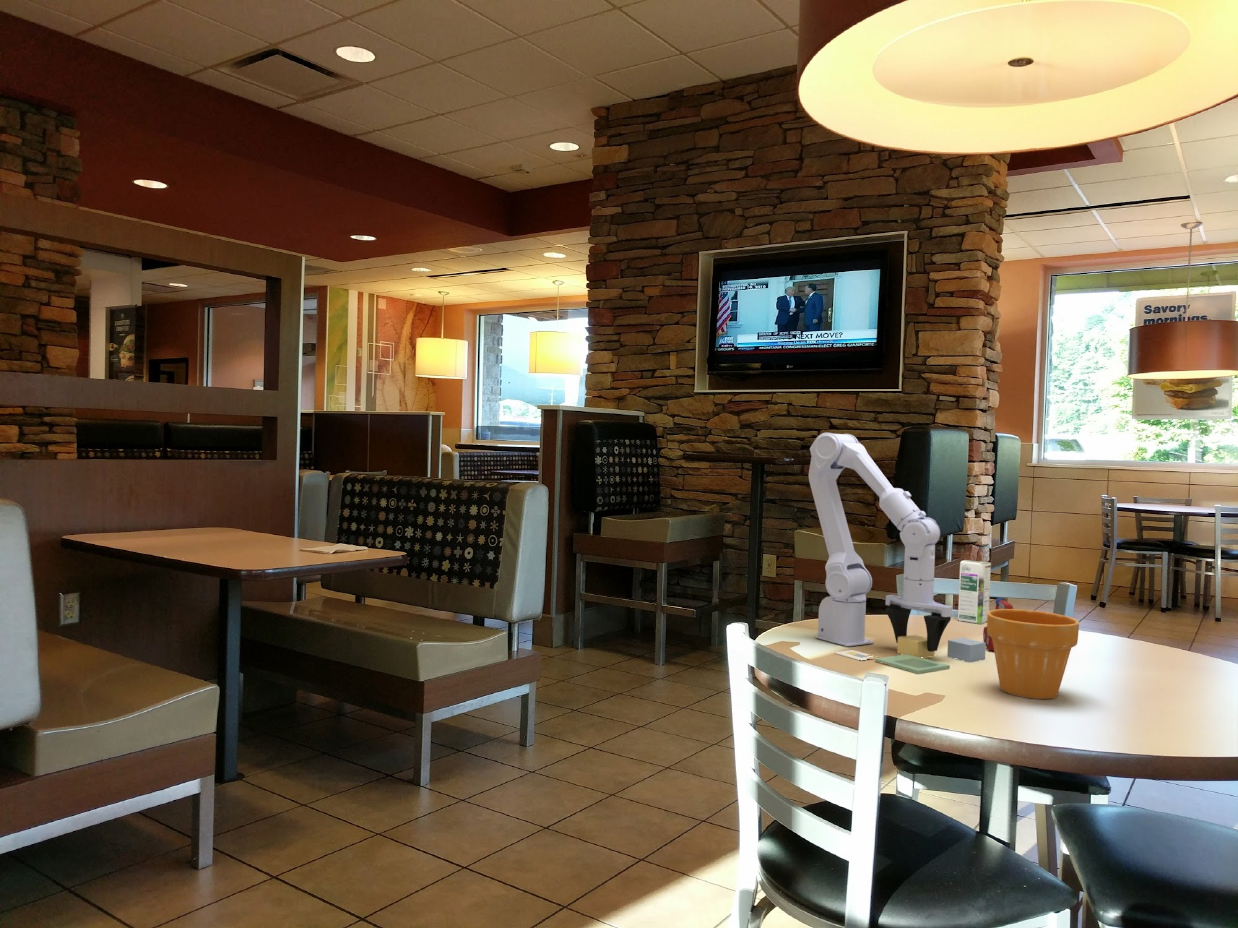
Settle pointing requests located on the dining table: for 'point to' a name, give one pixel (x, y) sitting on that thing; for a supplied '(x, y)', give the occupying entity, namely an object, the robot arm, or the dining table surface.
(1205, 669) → the dining table surface
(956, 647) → the brick
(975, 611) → the syrup box
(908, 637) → the brick
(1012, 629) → the flower pot
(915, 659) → the plate
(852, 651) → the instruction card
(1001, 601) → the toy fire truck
